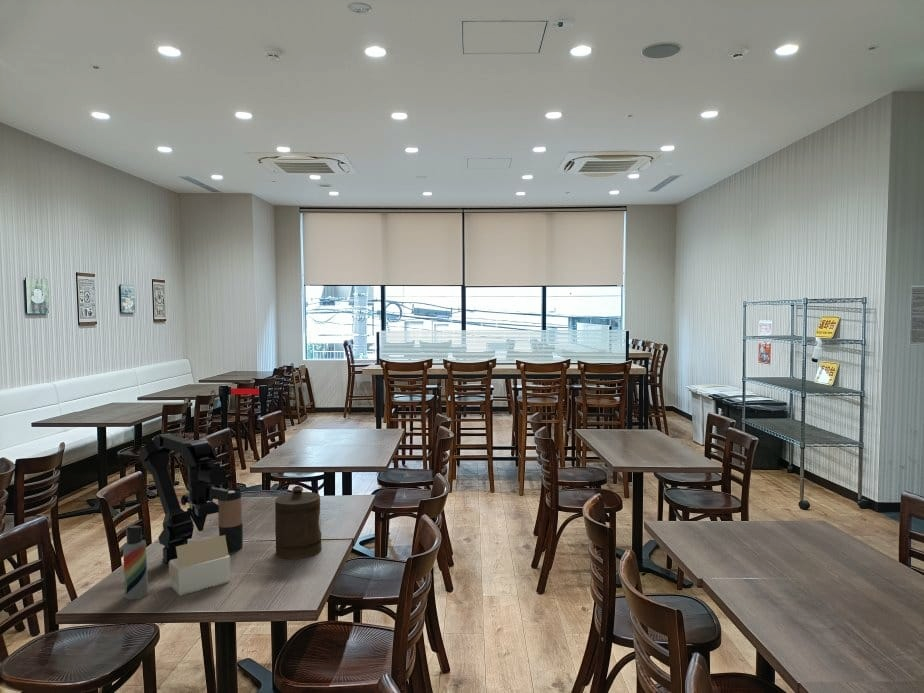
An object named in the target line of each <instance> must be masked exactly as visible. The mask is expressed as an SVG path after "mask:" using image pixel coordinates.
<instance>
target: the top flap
mask: <svg viewBox="0 0 924 693" xmlns="http://www.w3.org/2000/svg"><path fill="white" fill-rule="evenodd" d="M176 551H177V557H178V564H179V568H182V567H186V566H190V565H194V564H198V563H202V562H205V561H209V560H213V559H217V558H221V557H225V556H228V555H230V554H229V553H228V549H227V543H226V537H225V535H223V536H219V535H218V536H215V537H210V538H207V539H202V540H199V541H193V542H190V543H189V542H188V544H185V545H180V546H176Z"/></svg>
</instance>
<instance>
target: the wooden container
mask: <svg viewBox="0 0 924 693" xmlns="http://www.w3.org/2000/svg"><path fill="white" fill-rule="evenodd" d="M291 491H292V492H291V493H290V492H289V493H286V494H285V493H284V494H282V495H279V496H277V497H276V499H275V503H274V506H275V514H274V516H275V518H274V519H275V524H274V525H275V527H274V528H275V531H274V532H275V533H274V534H275V554H276V556H277V557H278V558H281V559H283V560H284V559H285V560H301V559H306V558H310V557H312V556H315V555H317V554H319V553H320V552H321V551H322V547H323V546H322V520H321V519H322V518H321V495H320V494H319V493H316V492H314V491H313V492H311V491H304V488H303V487H302V486H301V485H295V486H294V487H292V490H291Z"/></svg>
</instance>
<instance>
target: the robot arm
mask: <svg viewBox="0 0 924 693" xmlns="http://www.w3.org/2000/svg"><path fill="white" fill-rule="evenodd" d="M172 452H176V453H179V454H181V456H182V459H184V460H186V461H187V462H185V464H184V467H185V468H186V467H188V468H187V470H188V473H187V474H188V484H187V485H186V488H187V489H188V493H186V494H183V496H182V497H181V498H180V501H179V499H178V496H177V493H176V490H175V486H174V483H173V481H172V477H171V474H170V471H169V468H168V466H169V463H170V461H171V458H170V455H171V453H172ZM217 456H218V455H217V454H216V452H215V451H214V449H213V447H212V444H210V442H209V441H208V440H207V439H196V440H195V439H194V440H190V439H187V438H184V437H181V436H178V435H174V434H173V433H167V432H166V433H162V434H158V435H156V436H154V438H153V439H152V440H150V441H149V442H147V443H146V444H145V445H144V446H143V448H142V449H141V451H140V452H139V454H138V458H139V461H140V462H141V464H142V467H143V468H144V470H146V471H147V472H148V473H150V474H151V476H152V479H153V482H154V485H155V489H156V491H157V494H158V496H159V497H158V498H159V500H160V504H161V506H162V509H163V512H164V517H163V522H162V529H163V530H162V531H161V533H160V534H159V536H158V543H159V544H160V545H162V546H164V547H163V548H162V555H163V556H162V560H163V562H164V561H165V563H167V564H169V562H170V560H173V559H177V558H178V557H177V551H176V546H180V545H185V544H189V541H188V540H190V539H193V538H192V537H193V534H194V530H195V529H194V528H195V527H196V528H197V532H203V531H204V528H205V524H206V519H207V516H209V515H213V514H218V512H219V505H218V503H216V502H214V501H213V500H217V501H218V500H222V501H226V499H227V495H228V492H229V491H227V490H228V489H226V488H223V487H221V486H222V484H223V483H225V481H226V479H227V472H226V469H225V468H224V467H222V466H221V462H219V460H218V458H217ZM187 503H188V505H189V507H188V508H186V510H184V509H182V507H181V505H182V506H186V505H187ZM162 560H161V561H162Z"/></svg>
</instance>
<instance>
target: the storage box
mask: <svg viewBox="0 0 924 693" xmlns="http://www.w3.org/2000/svg"><path fill="white" fill-rule="evenodd" d="M230 570H231V556H230V554H229V555H228V556H225V557H221V558H217V559H213V560H209V561H205V562H202V563H198V564H194V565H190V566H186V567H182V568H179V564H178V558H177V559H173V560H170V562H169V563H168V572H169V573H168V575H169V577H170V587H171V586H172V587H171V588H172V589H173V590H174V591H175V593H177V595H178V596H179V597H182V596H185V595H188V593H189V594H192V593H195V592H194V591H196V592H199V591H202V590H201V589H203V590H205V589H204V588H206V589H209V588H208V587H210V588H212V587H211V586H213V587H215V585H217V586H219V585H218V584H220V585H222V584H221V583H224V584H226V583H225V582H227V583H229V582H228V581H230V582H231V577H230V576H231V573H230V572H231V571H230ZM198 590H199V591H198Z"/></svg>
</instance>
